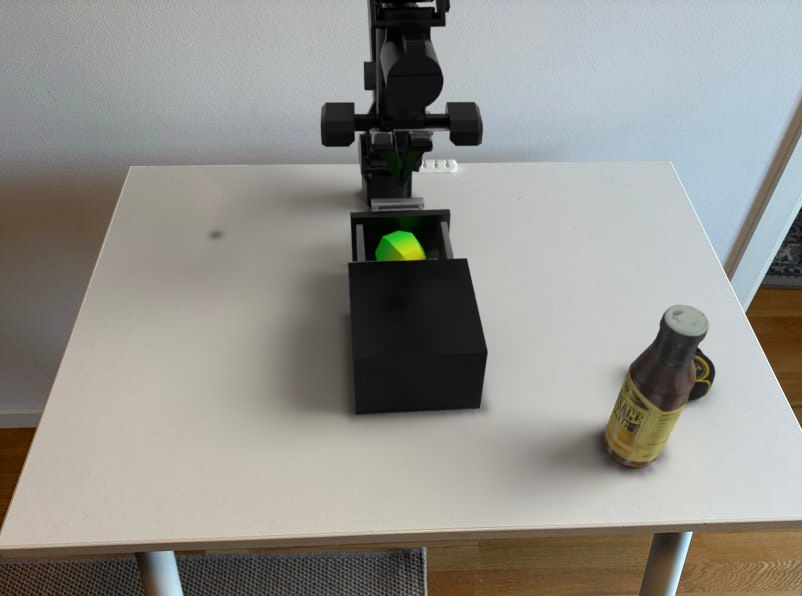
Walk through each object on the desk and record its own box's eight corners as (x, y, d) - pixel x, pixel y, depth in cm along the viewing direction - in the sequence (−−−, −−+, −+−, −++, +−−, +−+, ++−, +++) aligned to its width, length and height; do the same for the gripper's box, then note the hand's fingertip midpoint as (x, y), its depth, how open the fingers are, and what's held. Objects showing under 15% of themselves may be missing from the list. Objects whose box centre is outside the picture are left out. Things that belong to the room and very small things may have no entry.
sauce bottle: (595, 426, 83) (639, 291, 68) (650, 423, 83) (705, 289, 69) (610, 475, 78) (661, 342, 64) (668, 472, 79) (731, 339, 64)
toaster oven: (350, 319, 94) (347, 262, 87) (461, 314, 95) (467, 257, 88) (355, 414, 83) (352, 358, 76) (480, 408, 84) (488, 352, 78)
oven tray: (350, 235, 104) (348, 190, 99) (442, 232, 105) (445, 187, 100) (356, 331, 91) (354, 285, 86) (460, 326, 92) (465, 281, 87)
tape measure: (691, 361, 90) (701, 339, 87) (717, 403, 86) (728, 382, 83) (638, 367, 89) (646, 345, 86) (661, 411, 85) (670, 389, 82)
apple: (384, 213, 93) (425, 250, 88) (415, 228, 98) (456, 264, 93) (354, 260, 95) (393, 299, 90) (385, 272, 100) (424, 310, 95)
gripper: (477, 34, 88) (467, 151, 100) (319, 33, 87) (327, 152, 99) (489, 77, 81) (476, 199, 92) (316, 78, 80) (325, 200, 91)
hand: (400, 185), depth 94 cm, fingers closed
